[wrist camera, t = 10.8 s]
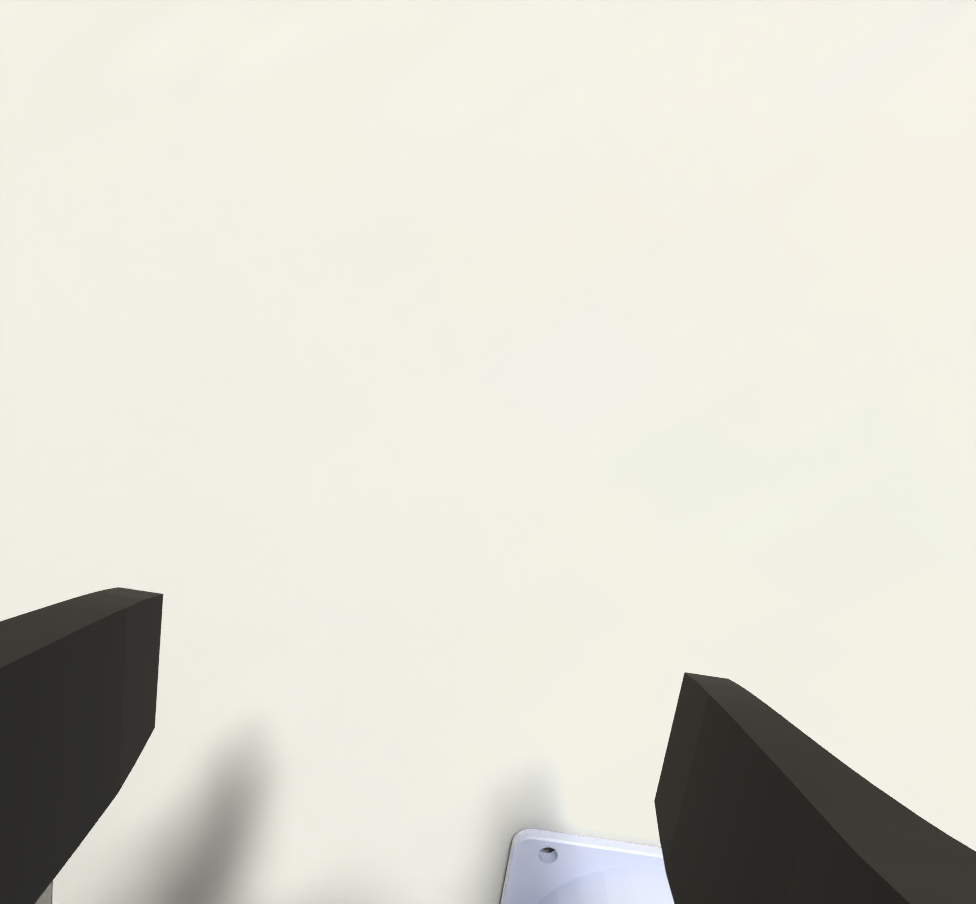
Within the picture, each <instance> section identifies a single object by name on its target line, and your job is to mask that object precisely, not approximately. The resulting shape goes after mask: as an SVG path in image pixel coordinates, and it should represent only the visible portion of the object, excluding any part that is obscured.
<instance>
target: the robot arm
mask: <svg viewBox="0 0 976 904" xmlns="http://www.w3.org/2000/svg"><path fill="white" fill-rule="evenodd" d="M162 603H163V594H159V593H153V592H146V591H139V590H133V589H126V588H119V587H118V588H112V589H107V590H102V591H98V592H94V593H90V594H87V595H83V596H80V597H76V598H73V599H70V600H66V601H63V602H60V603H57V604H54V605H50V606H47V607H44V608H41V609H38V610H35V611H32V612H29V613H25V614H22V615H19V616H16V617H13V618H10V619H7V620H4V621H1V622H0V904H35V903H36V902H37V900H38V899H39V898H40V896H41V895H42V894H43V892H44V891H45V890H46V888H47V887H48V886H49V885H50V883H51V882H52V881H53V879H54V878H55V877H56V875H57V874H58V873H59V871H60V870H61V869H62V867H63V866H64V865H65V863H66V862H67V861H68V859H69V858H70V857H71V856H72V854H73V853H74V852H75V850H76V849H77V848H78V846H79V845H80V844H81V842H82V841H83V840H84V838H85V837H86V836H87V834H88V833H89V832H90V830H91V829H92V828H93V826H94V825H95V823H96V822H97V821H98V819H99V818H100V817H101V815H102V814H103V813H104V811H105V810H106V809H107V807H108V806H109V805H110V803H111V802H112V800H113V799H114V798H115V796H116V795H117V794H118V792H119V790H120V789H121V787H122V785H123V783H124V782H125V780H126V778H127V777H128V775H129V773H130V772H131V770H132V768H133V766H134V765H135V763H136V761H137V759H138V757H139V756H140V754H141V752H142V750H143V748H144V746H145V745H146V743H147V741H148V739H149V737H150V735H151V733H152V732H153V730H154V728H155V713H156V698H157V682H158V666H159V650H160V634H161V619H162ZM655 808H656V815H657V822H658V829H659V836H660V843H661V847H656V846H649V845H642V844H635V843H628V842H622V841H615V840H608V839H601V838H594V837H587V836H580V835H574V834H567V833H560V832H553V831H546V830H539V829H524V830H521V831H519V832H518V833H517V834H516V835H515V836H514V838H513V841H512V845H511V851H510V856H509V861H508V867H507V872H506V877H505V883H504V888H503V893H502V898H501V904H976V851H974V850H972V849H971V848H969V847H967V846H966V845H964V844H962V843H961V842H959V841H957V840H956V839H954V838H952V837H951V836H949V835H947V834H946V833H944V832H943V831H941V830H940V829H938V828H936V827H935V826H933V825H932V824H930V823H929V822H927V821H926V820H924V819H922V818H921V817H919V816H918V815H916V814H915V813H914V812H912V811H911V810H909V809H908V808H906V807H905V806H903V805H902V804H900V803H899V802H898V801H896V800H895V799H893V798H892V797H890V796H889V795H887V794H886V793H885V792H883V791H882V790H880V789H879V788H877V787H876V786H874V785H873V784H872V783H870V782H869V781H867V780H866V779H865V778H863V777H862V776H860V775H859V774H858V773H856V772H855V771H854V770H852V769H851V768H849V767H848V766H847V765H845V764H844V763H843V762H841V761H840V760H839V759H837V758H836V757H835V756H833V755H832V754H831V753H829V752H828V751H827V750H825V749H824V748H823V747H821V746H820V745H819V744H818V743H816V742H815V741H814V740H812V739H811V738H810V737H808V736H807V735H806V734H804V733H803V732H802V731H801V730H799V729H798V728H797V727H795V726H794V725H793V724H791V723H790V722H789V721H788V720H786V719H785V718H784V717H782V716H781V715H780V714H778V713H777V712H776V711H774V710H773V709H772V708H771V707H769V706H768V705H767V704H765V703H764V702H762V701H761V700H760V699H758V698H757V697H756V696H754V695H753V694H751V693H750V692H749V691H747V690H746V689H744V688H743V687H741V686H740V685H738V684H736V683H735V682H733V681H731V680H729V679H725V678H719V677H712V676H705V675H699V674H692V673H684V677H683V682H682V686H681V690H680V694H679V699H678V703H677V707H676V711H675V716H674V720H673V724H672V729H671V733H670V737H669V741H668V746H667V750H666V754H665V758H664V763H663V767H662V771H661V776H660V780H659V784H658V788H657V793H656V797H655ZM546 847H551V848H553V849H555V850H554V851H553V852H551V853H544V852H542V851H540V850H542V849H543V848H546Z"/></svg>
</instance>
